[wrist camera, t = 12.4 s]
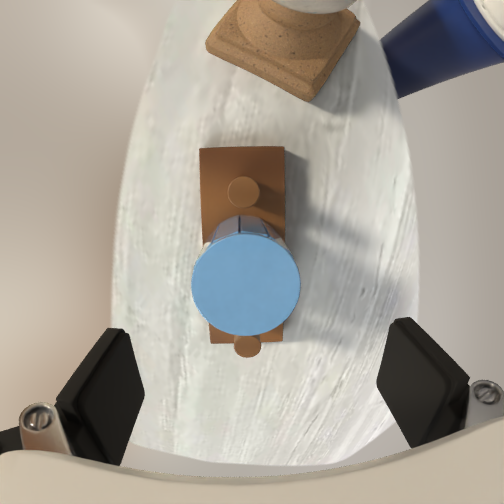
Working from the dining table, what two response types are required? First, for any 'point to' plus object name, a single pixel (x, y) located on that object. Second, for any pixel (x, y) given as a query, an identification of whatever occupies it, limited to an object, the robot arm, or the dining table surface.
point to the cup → (245, 277)
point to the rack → (243, 208)
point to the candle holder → (285, 40)
